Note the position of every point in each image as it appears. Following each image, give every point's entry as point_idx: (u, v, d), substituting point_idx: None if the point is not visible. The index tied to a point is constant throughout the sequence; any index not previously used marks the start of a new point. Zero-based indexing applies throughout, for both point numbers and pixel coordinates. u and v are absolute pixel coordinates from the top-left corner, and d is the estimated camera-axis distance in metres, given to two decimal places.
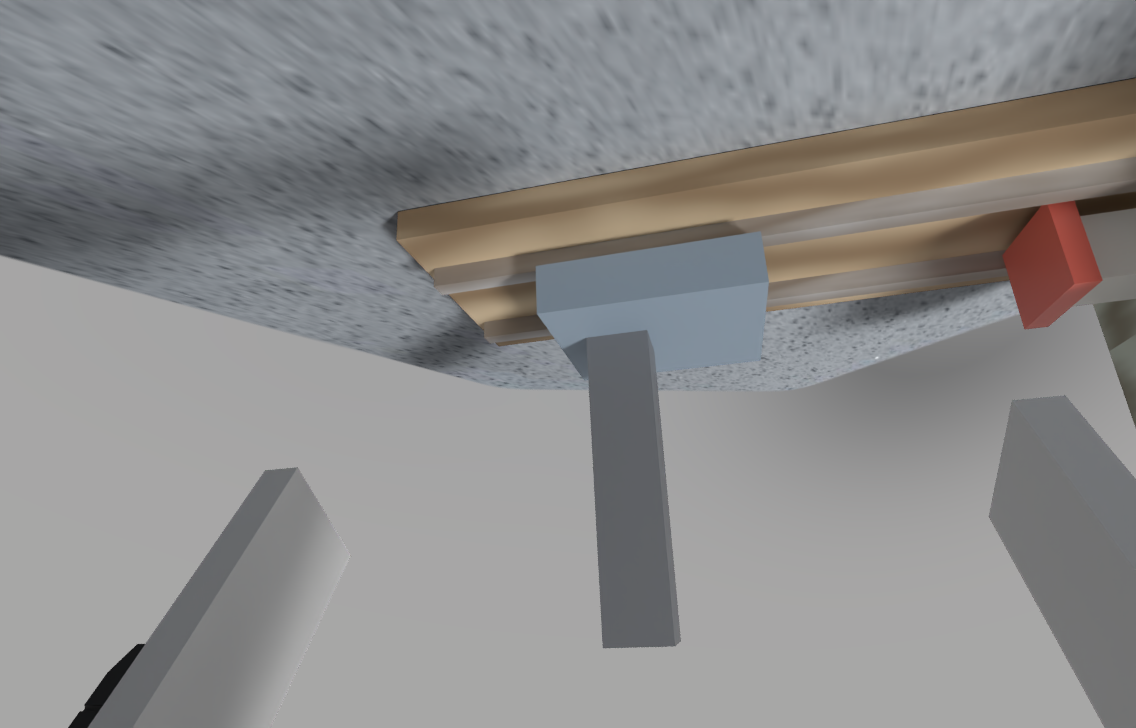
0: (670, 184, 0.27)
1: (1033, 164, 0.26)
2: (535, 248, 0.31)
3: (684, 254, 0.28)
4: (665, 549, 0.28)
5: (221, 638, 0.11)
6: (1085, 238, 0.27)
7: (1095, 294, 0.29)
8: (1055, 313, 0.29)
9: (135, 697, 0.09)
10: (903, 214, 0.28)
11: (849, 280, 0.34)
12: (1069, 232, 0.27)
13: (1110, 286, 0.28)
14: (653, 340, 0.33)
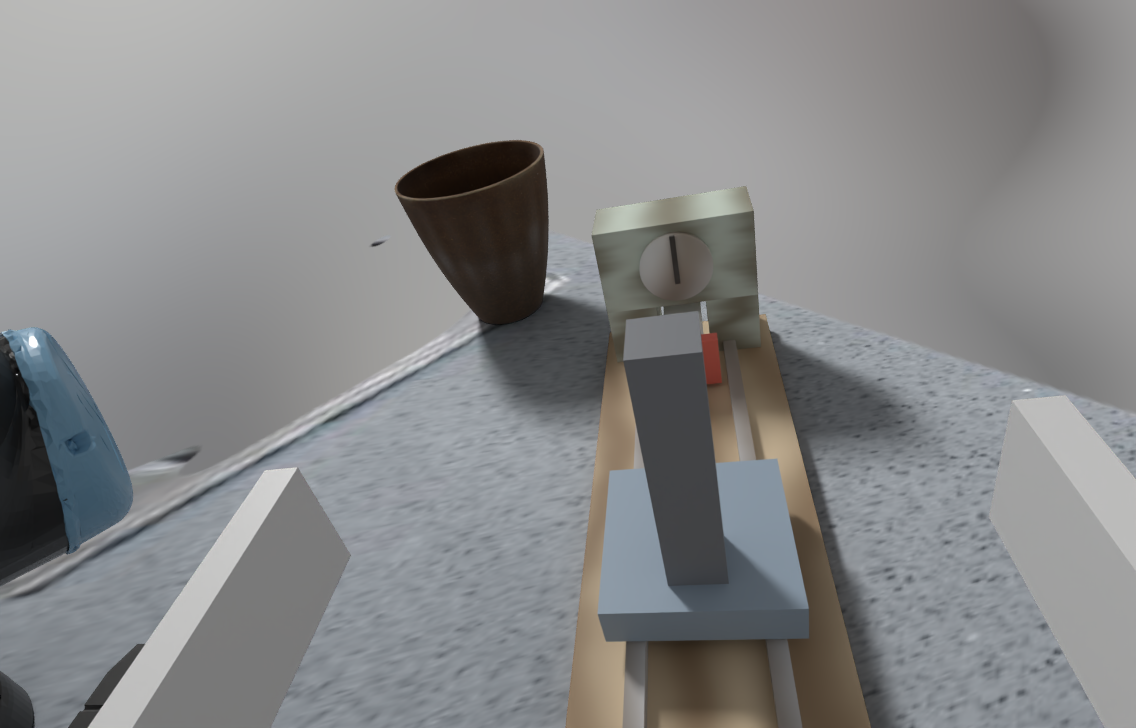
0: None
1: (630, 406, 0.51)
2: (622, 658, 0.34)
3: None
4: None
5: (221, 638, 0.11)
6: None
7: None
8: None
9: (135, 697, 0.09)
10: (635, 437, 0.46)
11: (737, 444, 0.44)
12: None
13: None
14: None
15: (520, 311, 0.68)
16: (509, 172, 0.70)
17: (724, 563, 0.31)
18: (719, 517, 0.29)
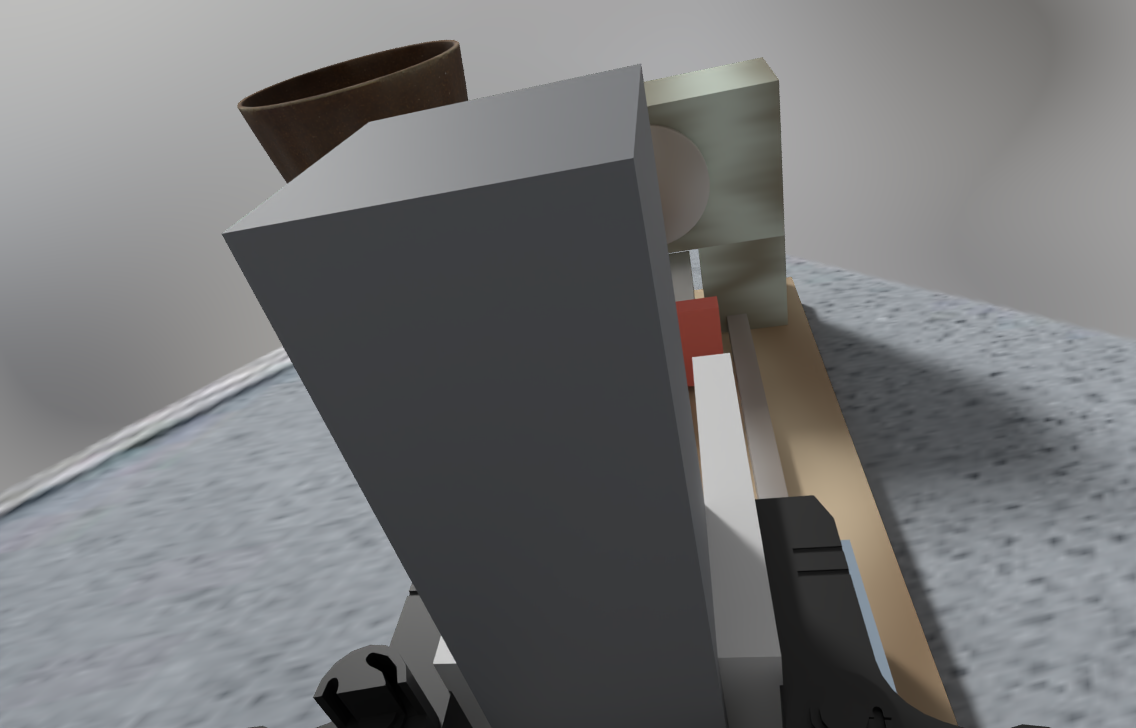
0: None
1: None
2: None
3: None
4: None
5: None
6: None
7: None
8: (676, 305, 0.29)
9: None
10: None
11: (757, 494, 0.24)
12: None
13: None
14: None
15: None
16: None
17: None
18: None
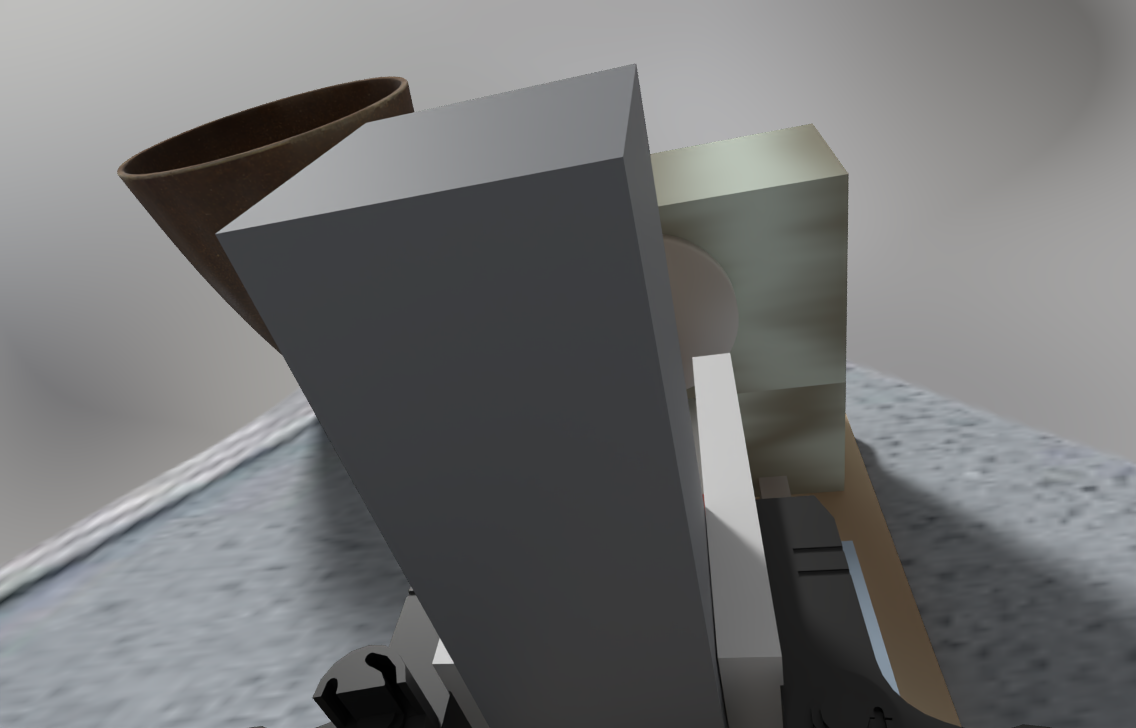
0: None
1: None
2: None
3: None
4: None
5: None
6: None
7: None
8: None
9: None
10: None
11: None
12: None
13: None
14: None
15: None
16: None
17: None
18: None
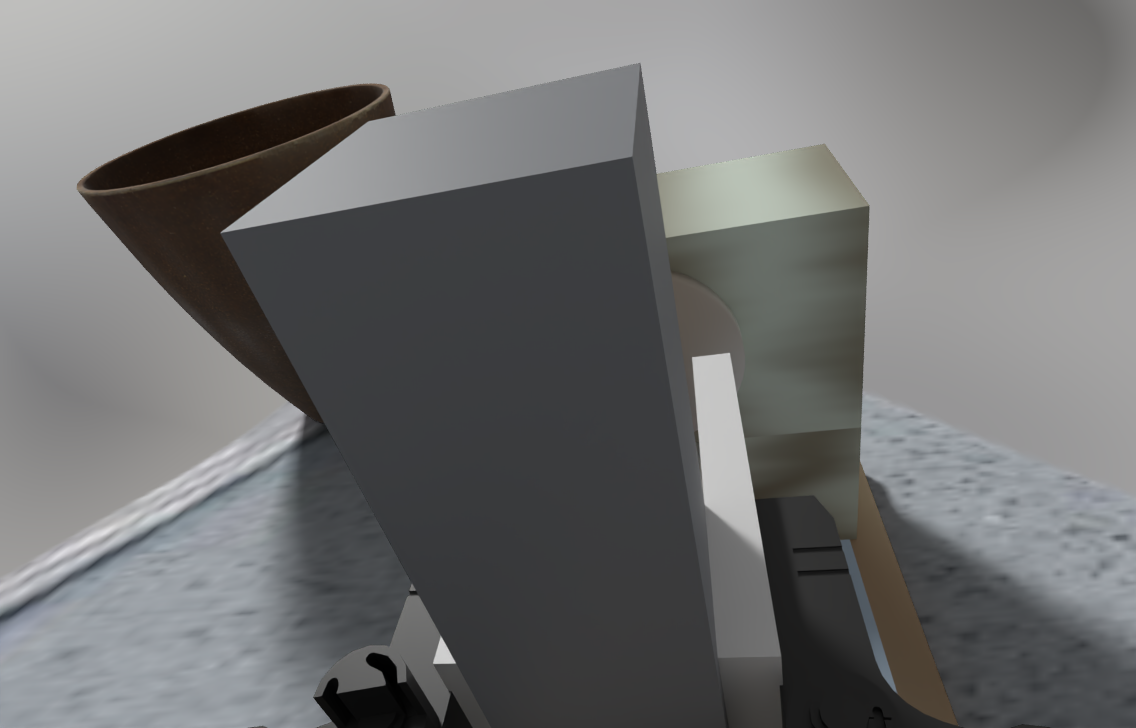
0: None
1: None
2: None
3: None
4: None
5: None
6: None
7: None
8: None
9: None
10: None
11: None
12: None
13: None
14: None
15: None
16: None
17: None
18: None
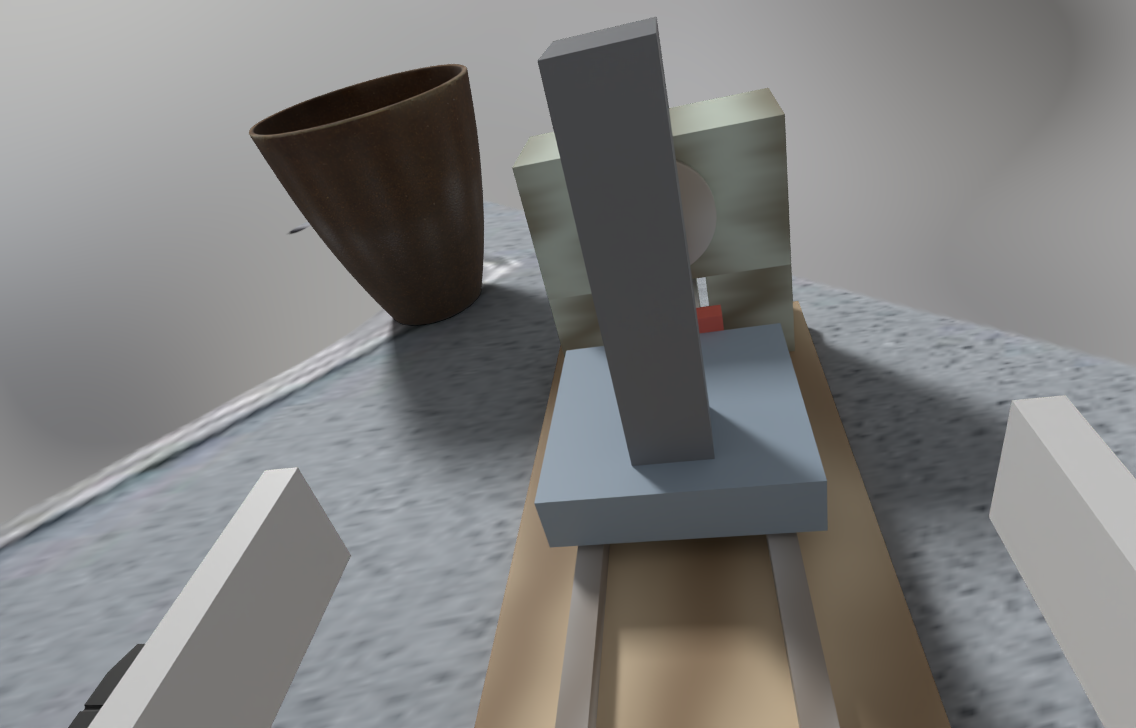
0: None
1: None
2: None
3: None
4: None
5: (221, 638, 0.11)
6: None
7: None
8: None
9: (135, 697, 0.09)
10: None
11: None
12: None
13: None
14: None
15: (445, 306, 0.48)
16: None
17: (707, 425, 0.22)
18: (696, 346, 0.21)
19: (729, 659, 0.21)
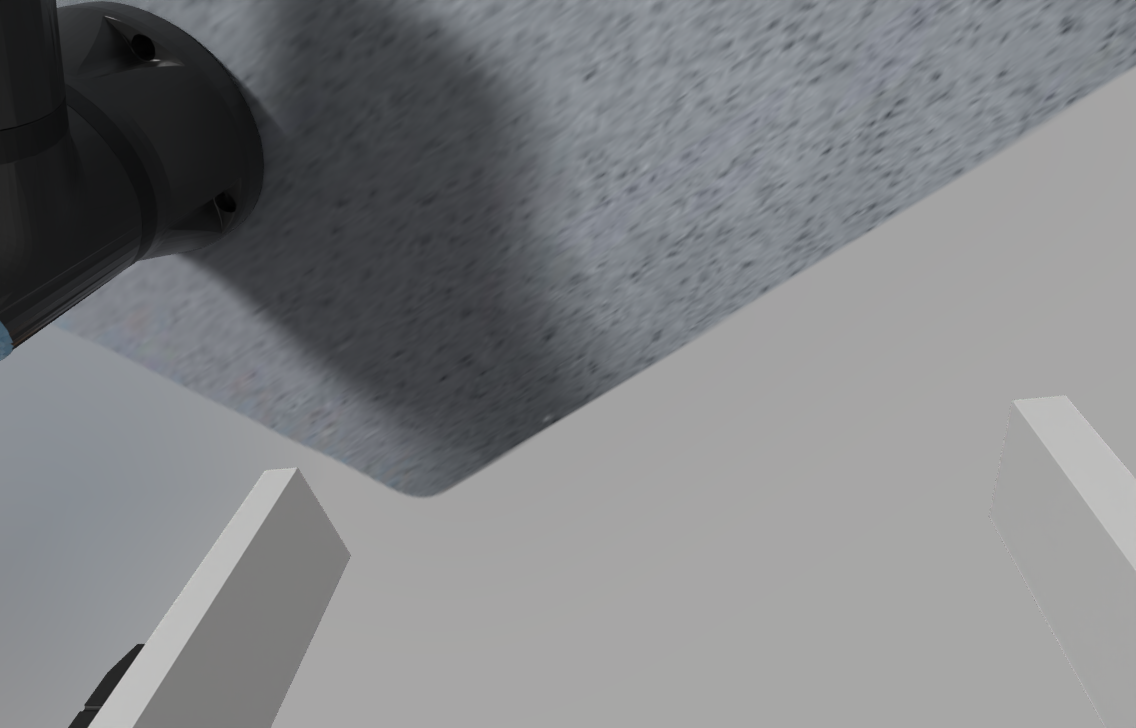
0: None
1: None
2: None
3: None
4: None
5: (221, 638, 0.11)
6: None
7: None
8: None
9: (135, 697, 0.09)
10: None
11: None
12: None
13: None
14: None
15: None
16: None
17: None
18: None
19: None
